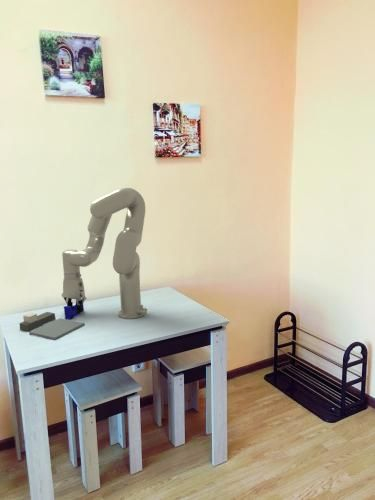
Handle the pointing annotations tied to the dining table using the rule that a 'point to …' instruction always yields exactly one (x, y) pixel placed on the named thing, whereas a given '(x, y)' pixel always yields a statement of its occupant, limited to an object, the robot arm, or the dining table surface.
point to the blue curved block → (71, 311)
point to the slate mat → (57, 328)
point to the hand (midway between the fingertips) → (74, 311)
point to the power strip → (36, 320)
